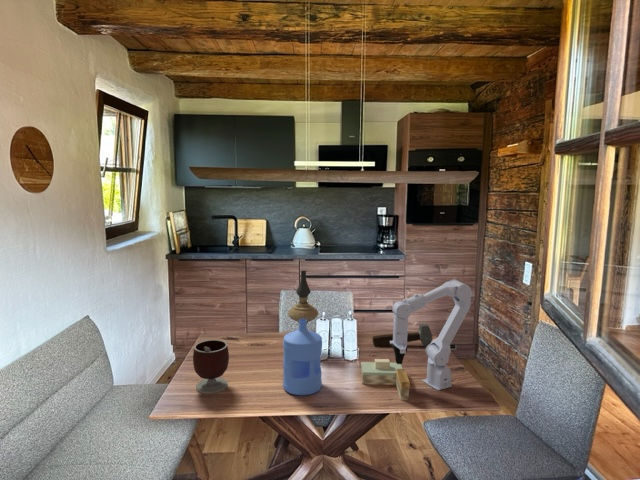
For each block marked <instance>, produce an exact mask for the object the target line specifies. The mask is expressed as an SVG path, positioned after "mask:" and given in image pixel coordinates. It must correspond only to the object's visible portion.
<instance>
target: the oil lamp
mask: <svg viewBox="0 0 640 480" xmlns="http://www.w3.org/2000/svg"><path fill="white" fill-rule="evenodd" d="M295 291H296V292H295V293H296V294H297V295H298V301H295V304H294V305H293V306H292V307H291V308H290V309H289V310H288V311H287V315H288V317H289V318H290V319H291V320H293V321H294V322H297V323H298V324H299V320H300V319H306V320H307V322H306V324H307V325H308V323H309V322H311V321H314V320H315V319H316V318H317V317H318V316H319V314H320V313H319V311H318V309H317V308H316V307H315V306H314V305H313V304H311V303H309V302H308V298H309V295H310V294H311V291H312V290H311V289H310V287H309V285H308V281H307V271H306V270H301V271H300V281H299V285H298V286H297V289H296V290H295ZM307 330H309V329H308V328H307Z"/></svg>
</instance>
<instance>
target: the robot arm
mask: <svg viewBox="0 0 640 480" xmlns="http://www.w3.org/2000/svg"><path fill="white" fill-rule="evenodd" d="M473 294H474V293H473V290H472V289H471V287H470V285H468V284H466V283H463V282H461V281H460V280H458V279H450V280H449V281H445V282H444V283H443V284H442V285H439V286H438V287H436V288H434V289H432V290H430V291H428V292H427V293H424V294H421V293H418V294H417V293H413V296H411V297H409V298H404V299H403V300H402V301H401V300H398V301H396V302H395V303H394V304H393V305H392V307H391V310H392V313H393V329H392V330H393V331H392V334H393V341H390V344H393V345H391V348H393V353H394V357H395V363H397V364H401V365H402V364H403V362H404V358H405V355H406V353H407V352H408V348H407V346H408V343H409V342H407V334H408V333H409V331H408V327H409V317H410V316H411V315H412V313H415V312H417V311H419V310H421V309H424V308H425V307H427V304H428V303H430V302H432V301H435V300H438V299H440V298H443V297H445V296H446V297H451V298H452V300H453V302H454V307H453V308H452V311H451V312H450V314H449V316H448V318H447V319H446V322H445V323H444V325H443V327H442V329H441V330H440V333H439V335H438V336H437V337H436V338H434V339H432V341H431V344H429V345H428V346H427V347H425V355H426V356H427V367H426V378H423V379H421V381H422V382H423V383H425V384H426V385H428V386H430V387H431V388H434V390H436V391H441V390H444V389H447V388H448V389H449V388H452V386H453V385H452V370H451V369H450V368H449V367H448V366H447V364H448V363H449V360H450V355H451V354H452V353H451V352H452V351H451V344H452V342H453V339H454V338H455V336H456V334H457V332H458V331H459V328H460V327H461V325H462V323H463V321H464V319H465V318H466V316H467V314H468V313H469V311H470V309H471V300H472V296H473Z"/></svg>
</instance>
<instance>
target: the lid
mask: <svg viewBox="0 0 640 480" xmlns="http://www.w3.org/2000/svg"><path fill="white" fill-rule="evenodd" d="M361 367H362V373H363V375H385V376H396V373H397V369H404V368H403V366H402V364H397V363H396V362H391V361H390V359H389V358H375V359H374V361H360V368H361Z"/></svg>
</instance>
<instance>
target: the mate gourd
mask: <svg viewBox="0 0 640 480" xmlns="http://www.w3.org/2000/svg"><path fill="white" fill-rule="evenodd" d="M229 362H230V352H229V347H228V343H227V342H226V341H225V340H221V339H207V340H202V341H199V342H198V343H196V344H194V347H193V351H192V364H193V369H194V372H195V373H196V374H197V376H199V377H200V379H201V380H200V381H199V382H197V383H196V386H195V389H196V391H197V392H198V393H200V394H207V395H211V394H217V393H220V392H222V391H224V390H225V389H226V388H227V387H228V381H227V380H226V379H225V378H221V377H222V376H223V375H224V374H225V372H226V371H227V370H228V367H229Z"/></svg>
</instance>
